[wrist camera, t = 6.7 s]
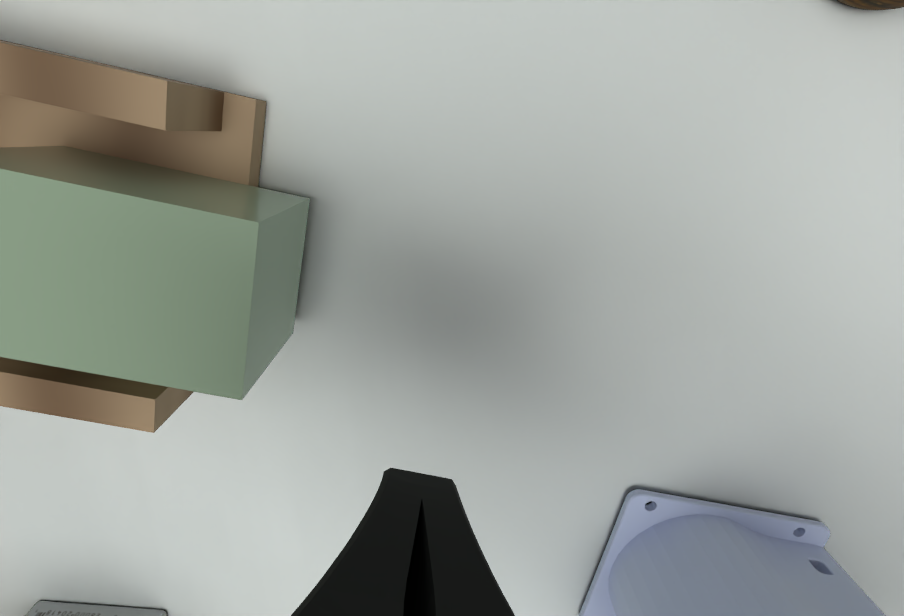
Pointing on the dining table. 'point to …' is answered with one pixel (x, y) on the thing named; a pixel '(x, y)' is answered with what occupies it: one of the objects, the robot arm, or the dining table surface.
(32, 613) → the coffee box
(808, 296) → the dining table surface
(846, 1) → the utensil holder
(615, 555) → the robot arm
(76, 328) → the bottle
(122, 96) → the cradle
